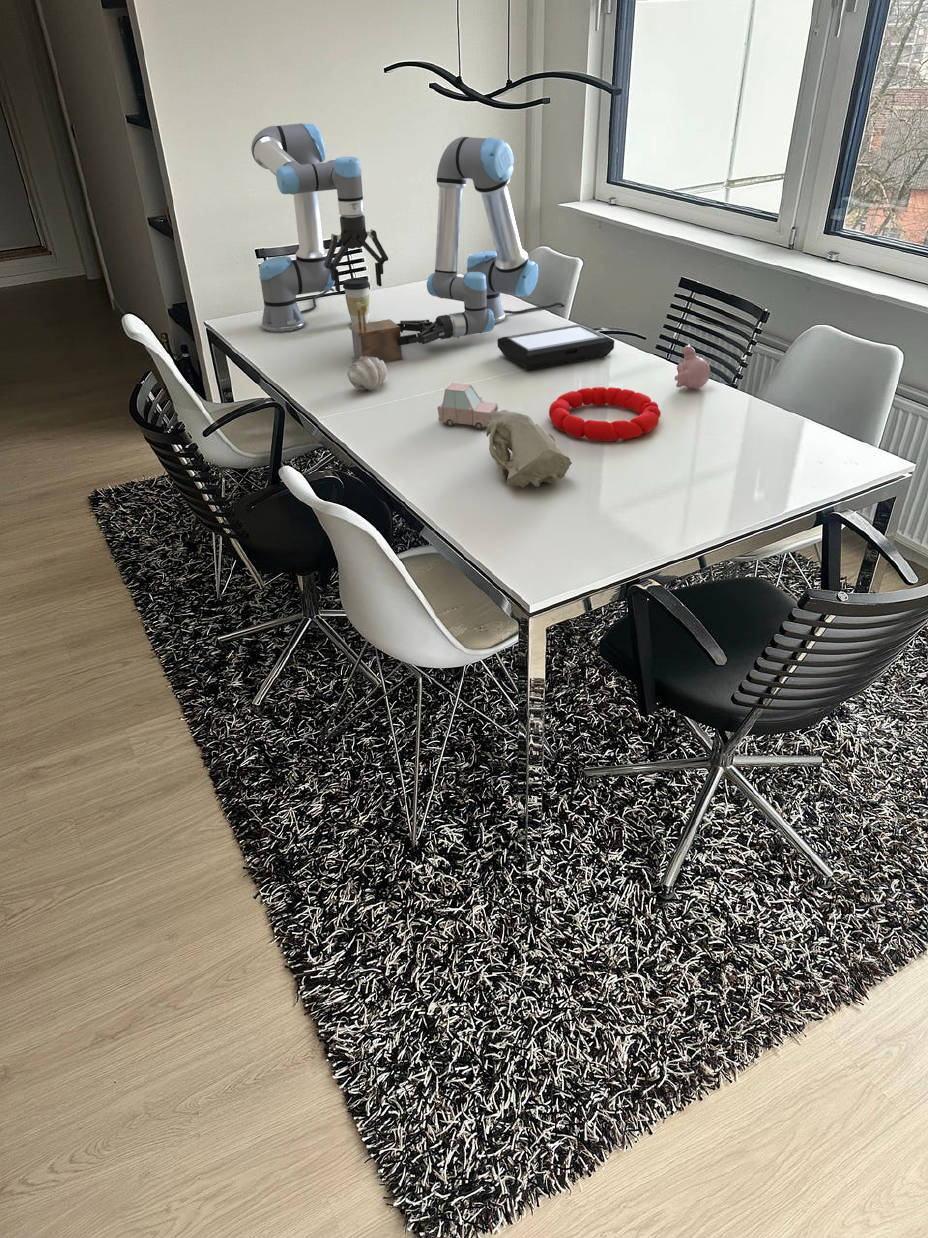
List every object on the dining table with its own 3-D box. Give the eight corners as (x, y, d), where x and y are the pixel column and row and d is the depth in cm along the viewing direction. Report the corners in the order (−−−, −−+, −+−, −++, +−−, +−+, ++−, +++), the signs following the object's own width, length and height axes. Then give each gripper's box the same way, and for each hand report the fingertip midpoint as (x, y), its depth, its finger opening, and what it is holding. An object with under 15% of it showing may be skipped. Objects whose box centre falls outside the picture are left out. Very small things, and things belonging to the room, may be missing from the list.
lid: (358, 336, 282) (355, 308, 277) (349, 328, 290) (346, 301, 285) (400, 329, 287) (398, 302, 282) (389, 322, 294) (387, 295, 289)
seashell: (340, 388, 271) (336, 356, 265) (384, 379, 276) (382, 347, 271) (353, 398, 263) (350, 365, 258) (399, 389, 269) (396, 356, 263)
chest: (363, 365, 288) (360, 336, 283) (354, 357, 295) (351, 328, 290) (402, 359, 292) (400, 330, 287) (392, 351, 300) (389, 322, 294)
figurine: (665, 387, 264) (669, 347, 257) (693, 380, 268) (698, 340, 261) (686, 396, 257) (690, 355, 250) (714, 388, 262) (720, 348, 255)
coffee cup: (372, 326, 323) (368, 283, 314) (345, 327, 323) (340, 284, 315) (374, 318, 331) (371, 276, 322) (348, 319, 331) (344, 277, 323)
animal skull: (496, 517, 219) (521, 479, 201) (463, 429, 225) (484, 384, 207) (557, 503, 225) (586, 465, 206) (523, 417, 231) (549, 373, 212)
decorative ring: (589, 435, 224) (684, 402, 234) (527, 398, 247) (617, 369, 256) (589, 461, 229) (683, 427, 238) (529, 422, 251) (617, 393, 260)
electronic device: (525, 353, 274) (497, 336, 289) (525, 373, 277) (497, 355, 292) (614, 337, 284) (582, 321, 299) (613, 356, 288) (581, 340, 303)
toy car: (488, 432, 240) (488, 396, 234) (436, 426, 244) (434, 390, 239) (499, 419, 247) (499, 384, 241) (448, 413, 252) (447, 379, 246)
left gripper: (315, 221, 261) (323, 296, 273) (395, 212, 268) (400, 285, 281) (308, 217, 266) (317, 290, 278) (386, 208, 274) (391, 280, 286)
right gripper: (465, 347, 291) (404, 357, 284) (435, 327, 310) (378, 336, 303) (464, 324, 286) (403, 334, 279) (434, 305, 305) (376, 314, 298)
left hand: (358, 288), depth 279 cm, fingers open, 13 cm apart
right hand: (390, 335), depth 291 cm, fingers open, 13 cm apart
